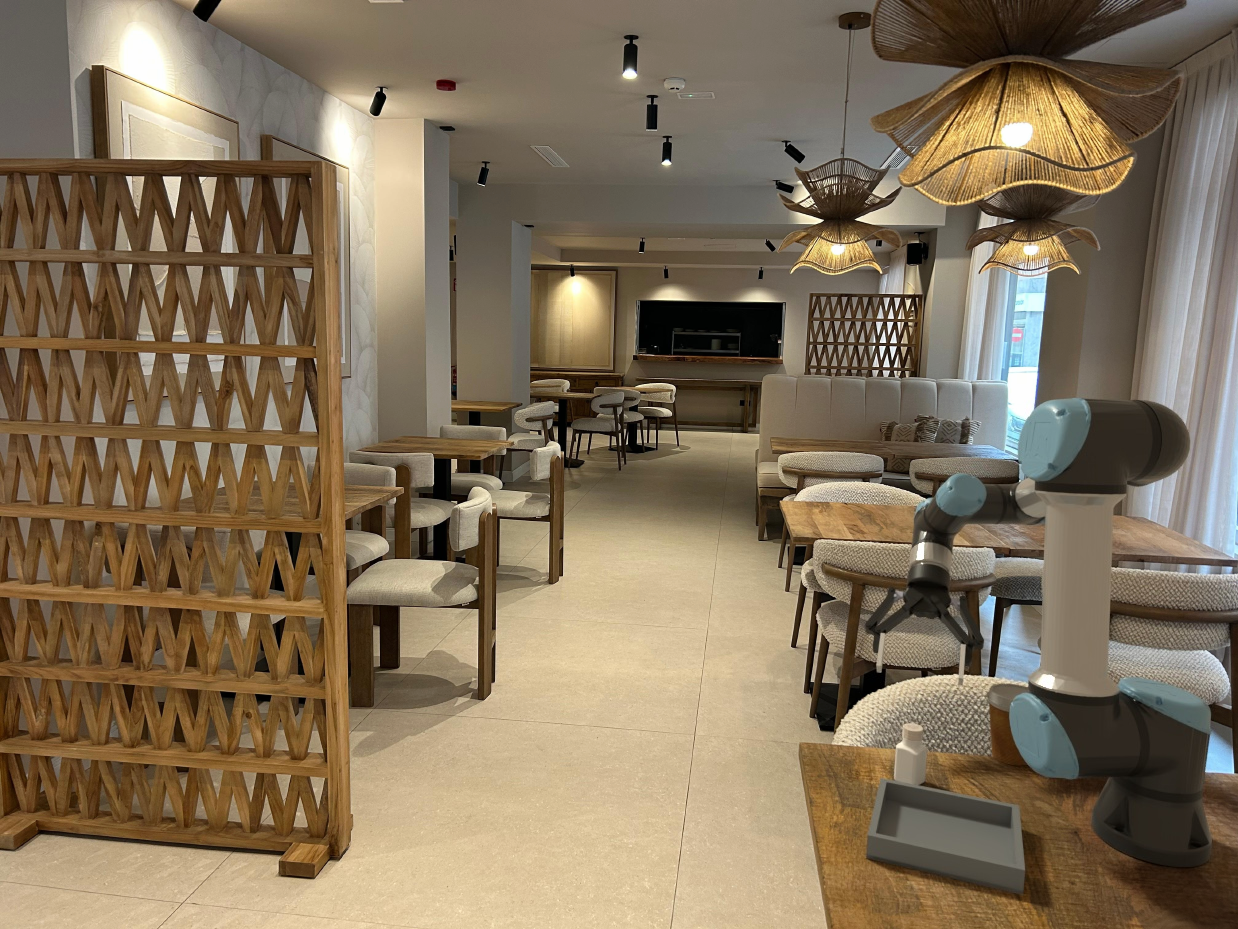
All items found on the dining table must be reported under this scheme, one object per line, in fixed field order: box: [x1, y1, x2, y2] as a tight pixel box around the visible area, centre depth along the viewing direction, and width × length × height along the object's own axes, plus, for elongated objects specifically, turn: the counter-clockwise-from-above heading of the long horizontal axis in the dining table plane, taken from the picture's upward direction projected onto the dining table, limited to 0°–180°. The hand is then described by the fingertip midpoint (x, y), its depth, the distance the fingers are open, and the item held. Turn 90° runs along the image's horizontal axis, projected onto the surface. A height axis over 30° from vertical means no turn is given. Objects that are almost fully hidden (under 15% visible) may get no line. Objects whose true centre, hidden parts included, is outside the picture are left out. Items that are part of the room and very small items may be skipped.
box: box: [865, 777, 1026, 896], centre depth 125 cm, size 20×18×4 cm
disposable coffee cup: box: [986, 683, 1028, 767], centre depth 152 cm, size 10×10×12 cm
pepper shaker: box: [893, 722, 928, 786], centre depth 142 cm, size 4×4×10 cm
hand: (919, 675), depth 151 cm, fingers open, 13 cm apart
